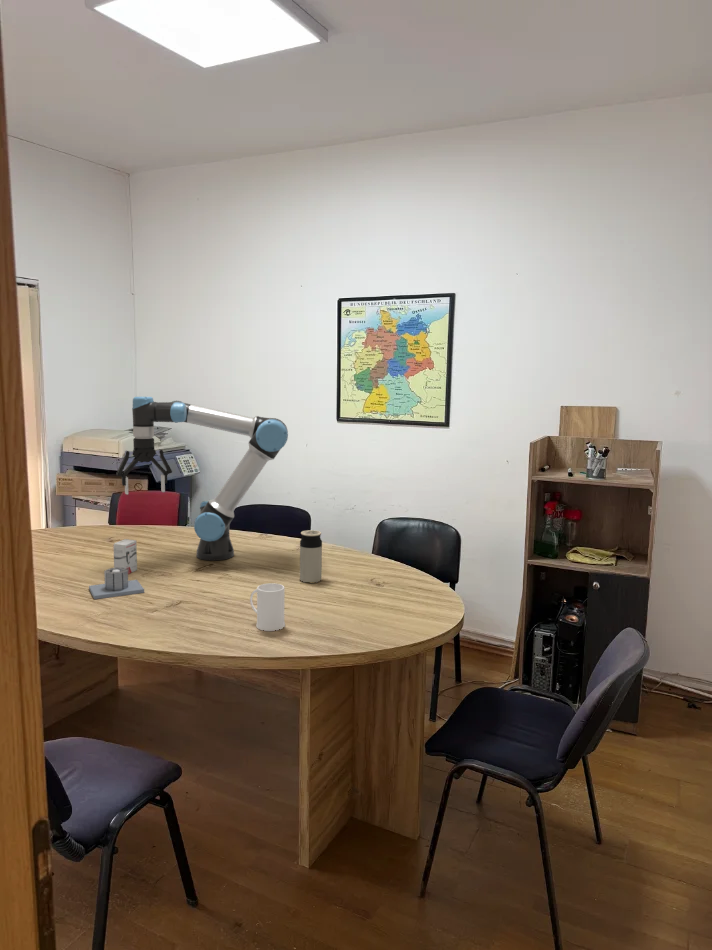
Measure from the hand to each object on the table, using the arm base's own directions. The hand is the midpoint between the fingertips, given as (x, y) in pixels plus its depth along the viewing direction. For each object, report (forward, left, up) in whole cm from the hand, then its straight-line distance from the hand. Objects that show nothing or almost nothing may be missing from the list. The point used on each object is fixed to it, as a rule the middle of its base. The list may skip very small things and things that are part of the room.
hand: (145, 492), depth 252 cm
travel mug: (-49, +45, -29) cm, 73 cm away
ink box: (+9, +6, -29) cm, 31 cm away
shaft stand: (+16, +27, -29) cm, 43 cm away
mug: (-18, +79, -29) cm, 86 cm away
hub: (+16, +27, -28) cm, 42 cm away
